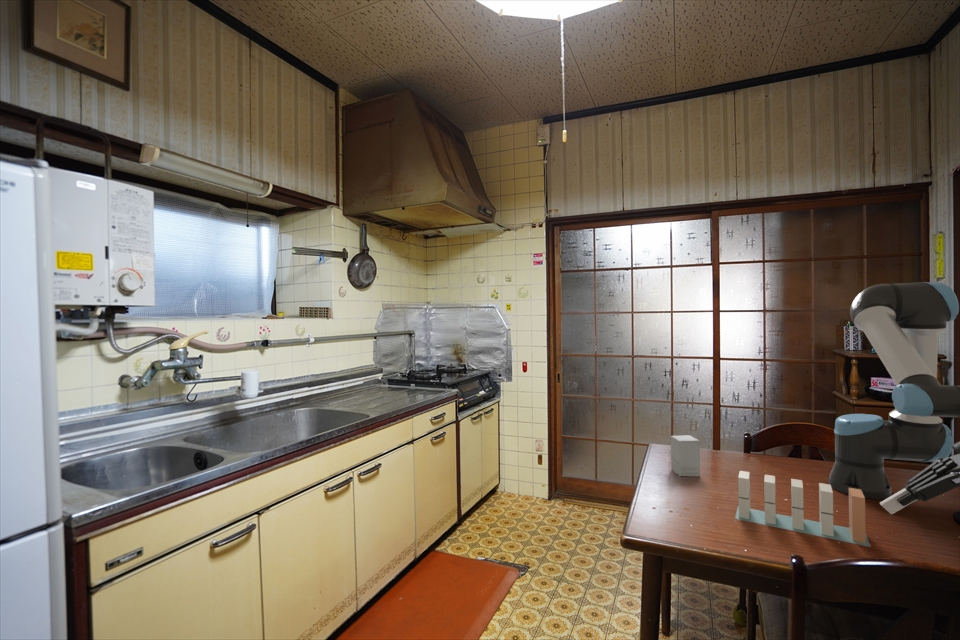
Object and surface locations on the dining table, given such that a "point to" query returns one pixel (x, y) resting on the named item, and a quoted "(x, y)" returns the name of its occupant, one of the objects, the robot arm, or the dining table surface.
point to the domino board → (809, 526)
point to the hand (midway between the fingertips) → (885, 508)
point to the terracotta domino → (857, 515)
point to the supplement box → (685, 455)
